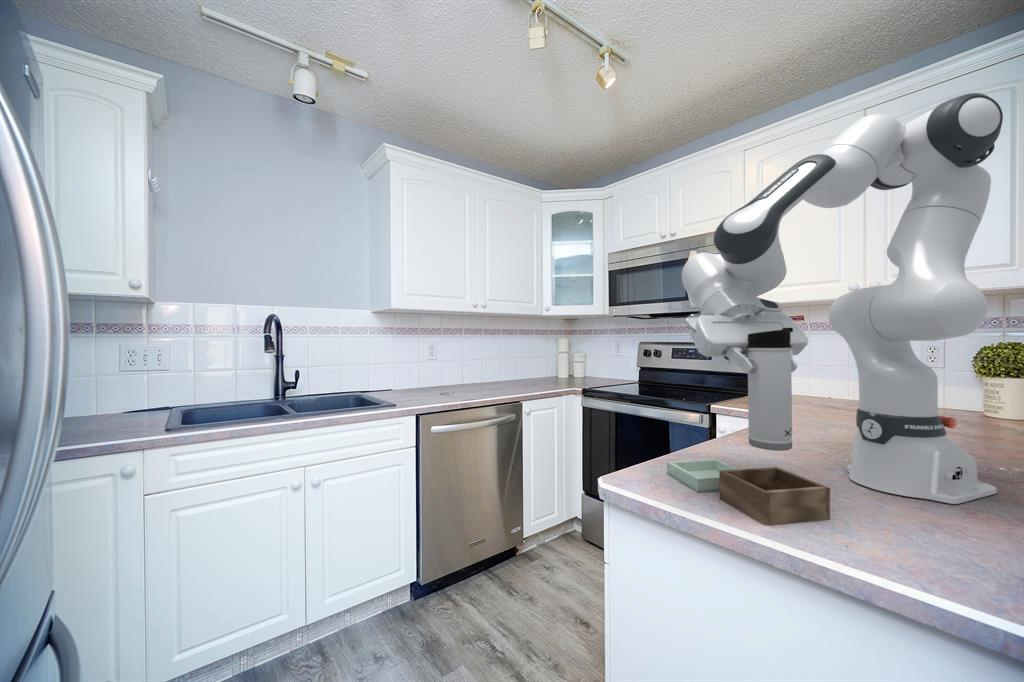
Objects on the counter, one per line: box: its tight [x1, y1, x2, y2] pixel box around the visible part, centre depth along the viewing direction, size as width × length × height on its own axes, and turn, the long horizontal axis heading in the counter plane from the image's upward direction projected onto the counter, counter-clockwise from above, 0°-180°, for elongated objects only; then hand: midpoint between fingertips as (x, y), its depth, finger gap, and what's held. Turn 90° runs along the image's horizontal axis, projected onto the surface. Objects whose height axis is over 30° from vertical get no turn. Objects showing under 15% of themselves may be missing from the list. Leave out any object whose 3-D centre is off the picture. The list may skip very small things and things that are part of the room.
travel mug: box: [747, 328, 793, 452], centre depth 70 cm, size 6×7×20 cm
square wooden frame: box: [718, 466, 831, 526], centre depth 69 cm, size 12×11×5 cm
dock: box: [666, 458, 740, 493], centre depth 83 cm, size 12×11×2 cm
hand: (772, 370), depth 69 cm, fingers closed on travel mug, 6 cm apart
